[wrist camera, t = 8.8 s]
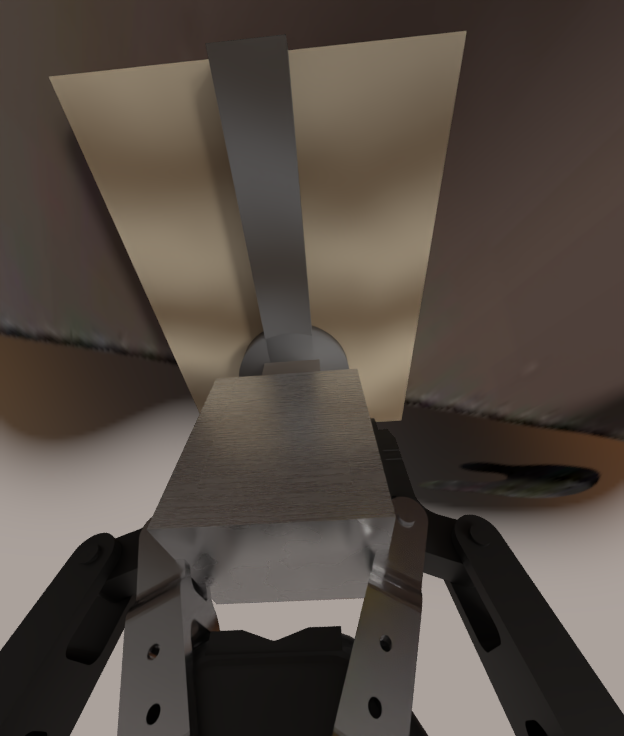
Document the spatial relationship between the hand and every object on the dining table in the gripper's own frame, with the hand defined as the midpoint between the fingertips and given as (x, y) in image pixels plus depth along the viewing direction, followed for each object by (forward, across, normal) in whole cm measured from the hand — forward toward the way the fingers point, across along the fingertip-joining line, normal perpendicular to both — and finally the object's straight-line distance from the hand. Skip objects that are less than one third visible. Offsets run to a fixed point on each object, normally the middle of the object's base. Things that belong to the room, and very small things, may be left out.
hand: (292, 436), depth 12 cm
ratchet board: (+7, 0, -4) cm, 8 cm away
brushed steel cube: (+1, 0, 0) cm, 1 cm away
